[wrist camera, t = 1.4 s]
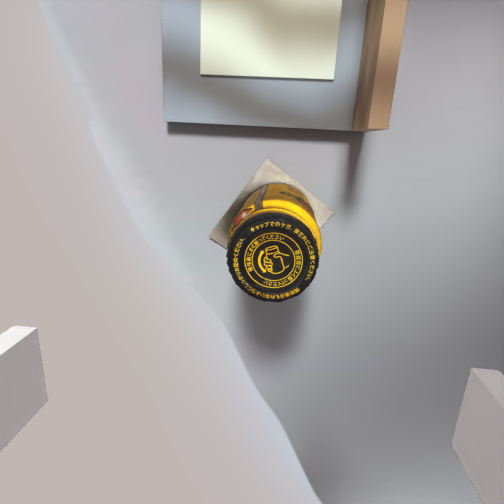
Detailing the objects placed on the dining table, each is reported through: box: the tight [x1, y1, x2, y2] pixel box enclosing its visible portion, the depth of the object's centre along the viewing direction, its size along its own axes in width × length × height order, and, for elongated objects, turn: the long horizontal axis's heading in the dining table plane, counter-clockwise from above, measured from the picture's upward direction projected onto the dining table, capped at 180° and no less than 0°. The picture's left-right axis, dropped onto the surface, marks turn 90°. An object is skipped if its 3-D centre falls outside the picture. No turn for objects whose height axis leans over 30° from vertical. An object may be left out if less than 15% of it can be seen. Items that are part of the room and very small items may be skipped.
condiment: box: [209, 159, 334, 302], centre depth 26 cm, size 7×8×12 cm
